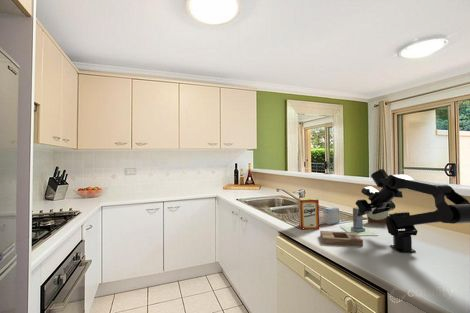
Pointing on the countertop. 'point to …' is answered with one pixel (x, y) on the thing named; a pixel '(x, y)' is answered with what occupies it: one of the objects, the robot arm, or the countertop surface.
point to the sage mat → (364, 233)
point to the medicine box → (331, 215)
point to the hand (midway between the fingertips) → (365, 214)
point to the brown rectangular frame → (341, 238)
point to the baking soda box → (308, 213)
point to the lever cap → (357, 221)
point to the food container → (377, 217)
